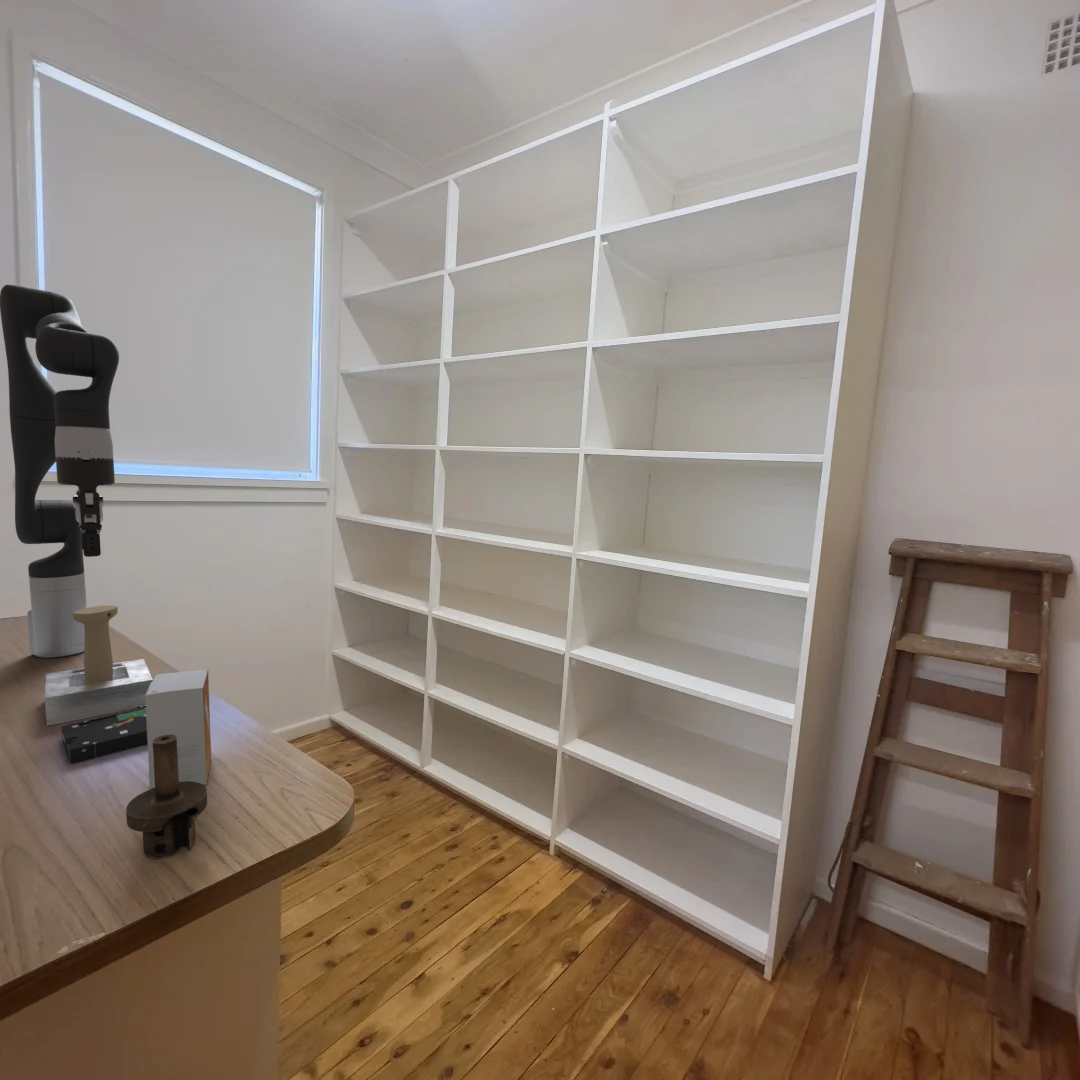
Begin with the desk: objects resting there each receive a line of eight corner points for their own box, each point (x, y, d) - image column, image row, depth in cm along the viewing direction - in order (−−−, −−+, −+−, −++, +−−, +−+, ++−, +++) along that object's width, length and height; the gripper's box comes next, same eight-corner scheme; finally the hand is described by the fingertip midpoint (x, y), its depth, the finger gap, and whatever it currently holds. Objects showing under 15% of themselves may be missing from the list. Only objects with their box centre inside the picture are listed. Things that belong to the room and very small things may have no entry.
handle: (128, 688, 102) (124, 606, 101) (97, 702, 96) (92, 614, 94) (102, 687, 103) (98, 605, 101) (70, 700, 96) (65, 613, 95)
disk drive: (70, 770, 78) (193, 735, 88) (68, 750, 78) (192, 718, 88) (61, 743, 85) (176, 715, 96) (59, 726, 85) (175, 698, 95)
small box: (208, 785, 74) (203, 687, 72) (148, 796, 71) (143, 694, 69) (212, 757, 81) (208, 667, 79) (159, 766, 78) (154, 673, 77)
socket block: (46, 726, 90) (44, 697, 89) (48, 698, 100) (46, 672, 100) (154, 704, 98) (152, 678, 98) (144, 681, 109) (143, 657, 109)
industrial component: (221, 844, 62) (216, 738, 61) (143, 879, 57) (136, 763, 55) (187, 811, 68) (182, 713, 67) (114, 839, 62) (107, 734, 61)
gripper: (55, 455, 98) (62, 550, 100) (55, 454, 87) (62, 560, 89) (110, 457, 103) (115, 547, 104) (116, 456, 92) (122, 556, 94)
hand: (91, 553), depth 97 cm, fingers open, 8 cm apart
